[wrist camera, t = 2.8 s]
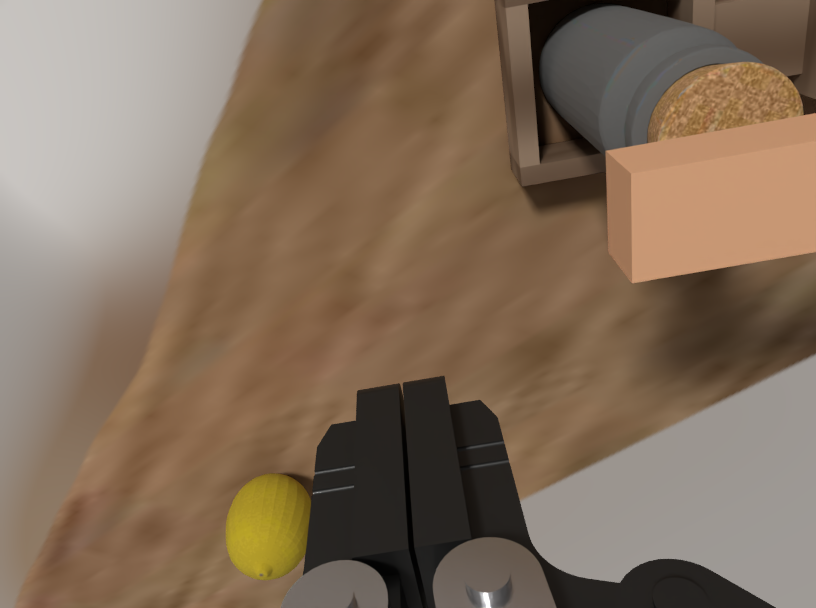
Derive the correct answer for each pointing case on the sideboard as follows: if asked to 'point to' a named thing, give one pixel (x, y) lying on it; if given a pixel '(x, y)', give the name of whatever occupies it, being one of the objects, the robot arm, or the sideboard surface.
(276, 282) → the sideboard surface
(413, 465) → the robot arm
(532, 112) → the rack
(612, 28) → the bottle
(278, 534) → the lemon
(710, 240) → the bar
